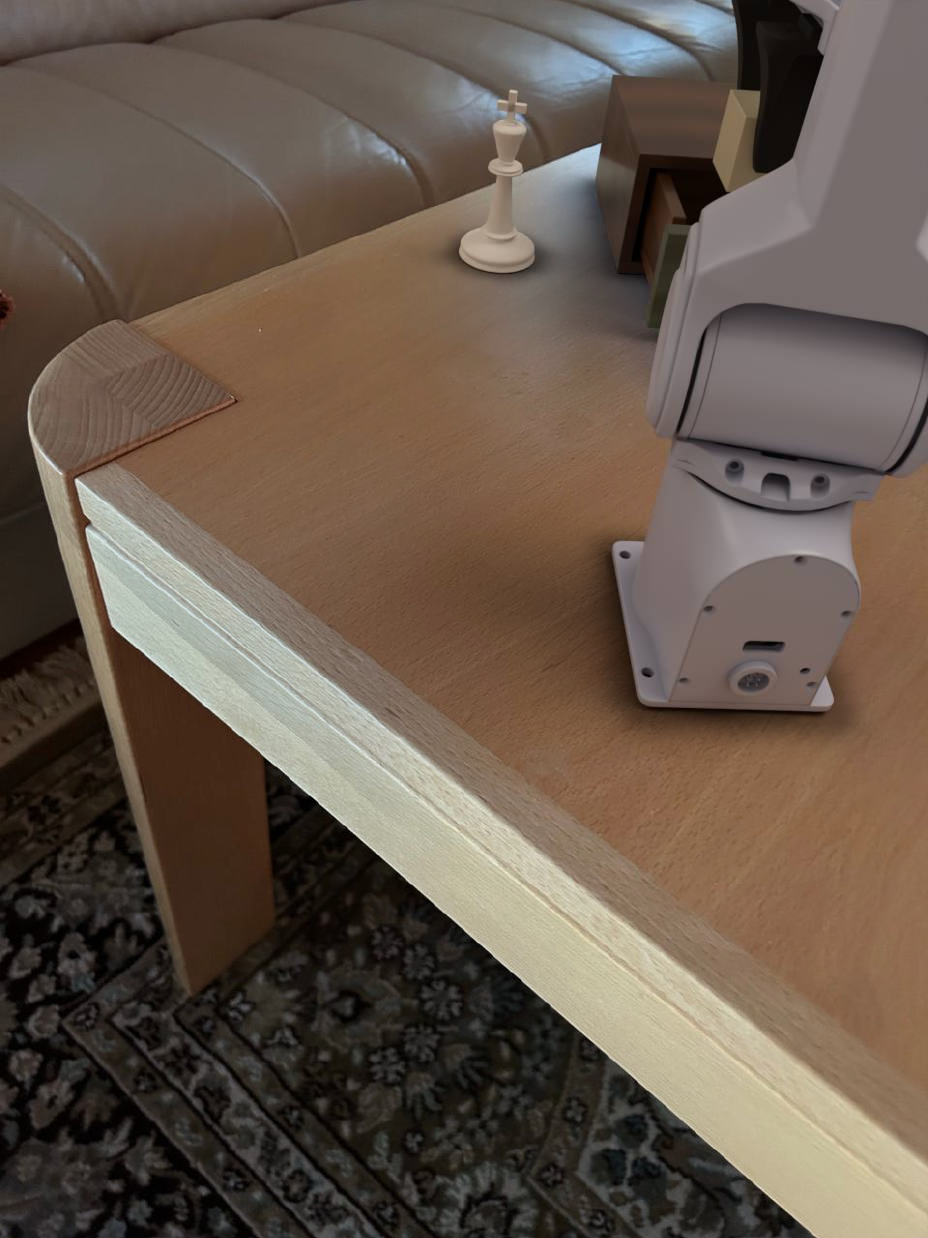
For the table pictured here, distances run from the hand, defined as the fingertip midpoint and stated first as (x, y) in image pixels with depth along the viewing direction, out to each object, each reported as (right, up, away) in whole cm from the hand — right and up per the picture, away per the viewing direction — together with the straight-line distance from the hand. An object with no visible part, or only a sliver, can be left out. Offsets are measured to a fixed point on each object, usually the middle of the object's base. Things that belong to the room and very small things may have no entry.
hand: (762, 153), depth 57 cm
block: (0, -1, +1) cm, 1 cm away
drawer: (0, -7, +6) cm, 9 cm away
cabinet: (-1, +1, +14) cm, 14 cm away
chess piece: (-14, -2, +10) cm, 18 cm away
